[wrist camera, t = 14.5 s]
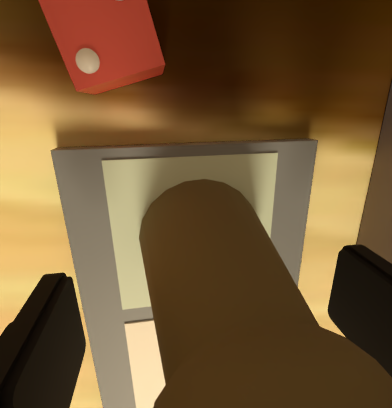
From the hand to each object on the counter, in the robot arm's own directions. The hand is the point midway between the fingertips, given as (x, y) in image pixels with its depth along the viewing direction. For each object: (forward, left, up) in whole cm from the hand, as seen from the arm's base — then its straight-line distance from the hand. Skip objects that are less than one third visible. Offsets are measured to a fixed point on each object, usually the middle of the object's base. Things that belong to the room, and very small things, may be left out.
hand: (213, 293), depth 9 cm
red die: (+3, -8, -5) cm, 10 cm away
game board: (0, +5, -5) cm, 7 cm away
